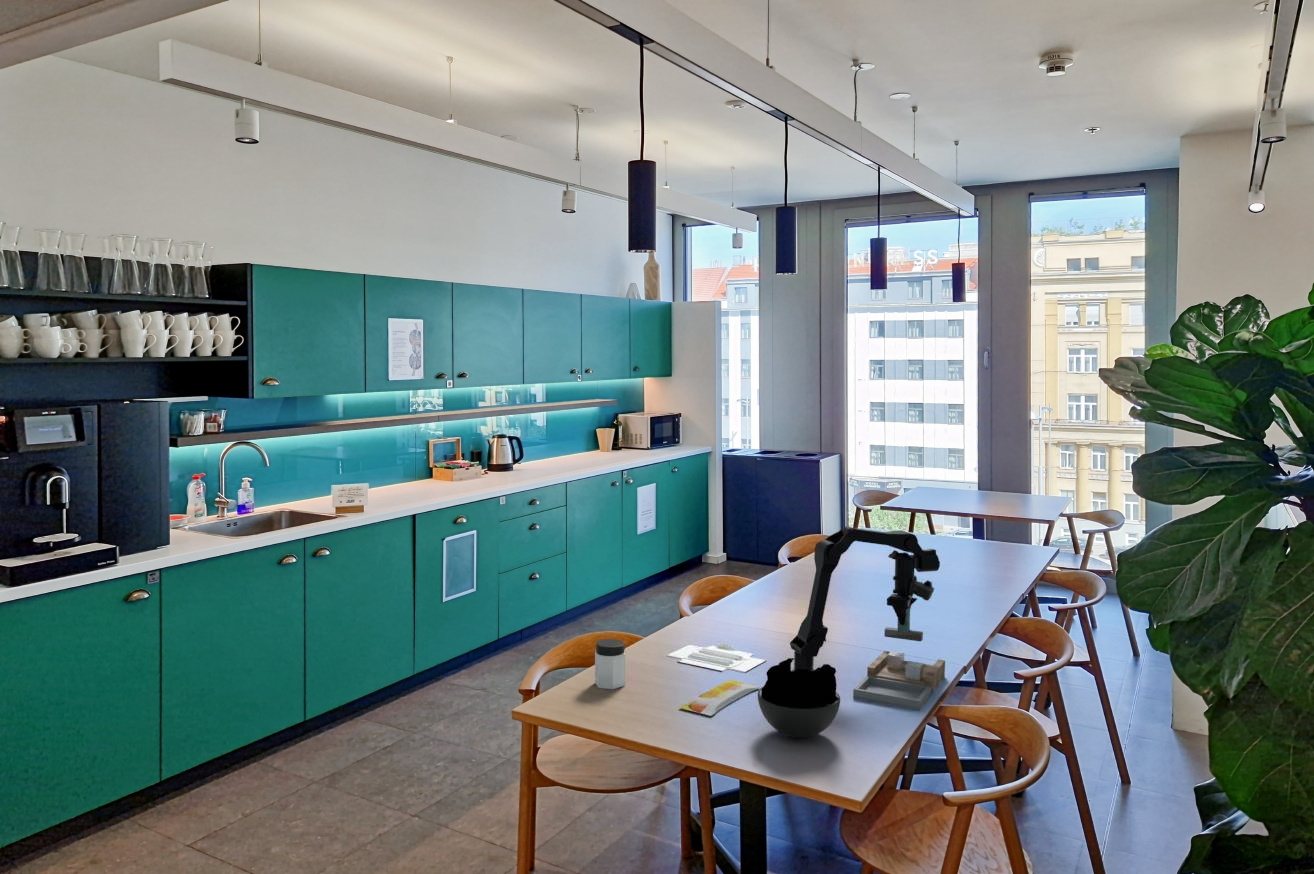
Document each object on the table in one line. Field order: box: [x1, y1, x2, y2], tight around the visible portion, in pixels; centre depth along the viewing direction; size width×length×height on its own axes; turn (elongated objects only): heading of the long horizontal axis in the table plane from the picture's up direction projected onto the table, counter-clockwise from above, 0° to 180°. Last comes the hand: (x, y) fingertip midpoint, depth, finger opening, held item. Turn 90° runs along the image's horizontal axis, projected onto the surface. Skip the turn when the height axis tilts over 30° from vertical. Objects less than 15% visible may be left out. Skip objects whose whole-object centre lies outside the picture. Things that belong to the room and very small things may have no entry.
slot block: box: [866, 650, 946, 696], centre depth 261 cm, size 18×18×5 cm
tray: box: [666, 641, 767, 674], centre depth 280 cm, size 20×28×4 cm
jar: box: [594, 638, 626, 690], centre depth 254 cm, size 9×8×12 cm
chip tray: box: [852, 675, 932, 711], centre depth 247 cm, size 13×18×2 cm
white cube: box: [887, 651, 905, 670], centre depth 263 cm, size 4×4×4 cm
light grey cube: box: [905, 660, 924, 681], centre depth 254 cm, size 4×4×4 cm
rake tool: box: [884, 607, 924, 642], centre depth 273 cm, size 3×11×9 cm, turn 61°
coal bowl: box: [757, 657, 841, 739], centre depth 219 cm, size 20×20×19 cm
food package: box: [679, 679, 761, 717], centre depth 244 cm, size 27×2×10 cm
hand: (903, 623), depth 273 cm, fingers closed on rake tool, 3 cm apart
